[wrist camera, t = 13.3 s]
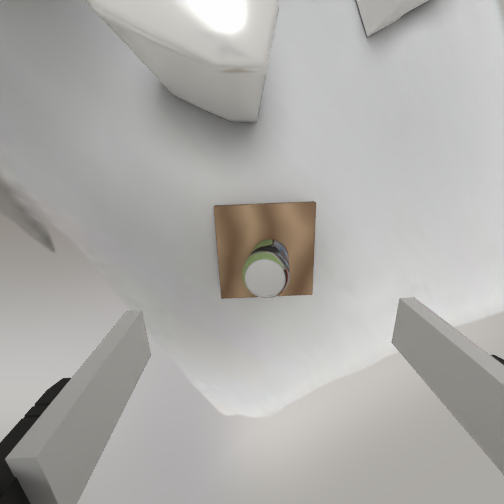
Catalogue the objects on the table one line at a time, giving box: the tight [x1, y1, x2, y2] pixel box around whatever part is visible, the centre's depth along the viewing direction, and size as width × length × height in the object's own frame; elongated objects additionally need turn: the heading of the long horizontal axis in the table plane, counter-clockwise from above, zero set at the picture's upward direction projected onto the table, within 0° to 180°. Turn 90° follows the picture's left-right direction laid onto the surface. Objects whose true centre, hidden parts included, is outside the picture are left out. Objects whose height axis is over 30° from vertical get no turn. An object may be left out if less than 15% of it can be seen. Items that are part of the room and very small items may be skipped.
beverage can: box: [242, 239, 290, 298], centre depth 35 cm, size 6×7×12 cm
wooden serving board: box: [214, 201, 316, 299], centre depth 43 cm, size 16×16×4 cm
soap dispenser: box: [86, 0, 279, 122], centre depth 26 cm, size 15×14×22 cm
